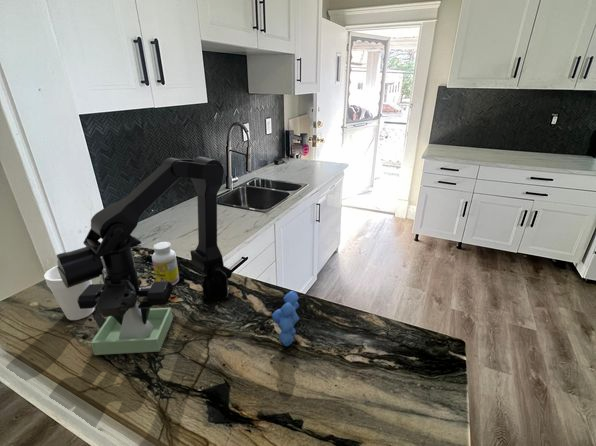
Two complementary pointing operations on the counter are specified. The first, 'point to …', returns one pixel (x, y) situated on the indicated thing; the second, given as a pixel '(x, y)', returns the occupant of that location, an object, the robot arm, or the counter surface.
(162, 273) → the supplement bottle
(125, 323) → the flask
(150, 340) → the green tray
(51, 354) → the counter surface
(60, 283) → the foam cup
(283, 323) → the grapes
